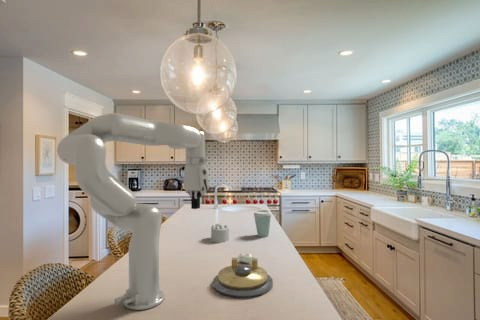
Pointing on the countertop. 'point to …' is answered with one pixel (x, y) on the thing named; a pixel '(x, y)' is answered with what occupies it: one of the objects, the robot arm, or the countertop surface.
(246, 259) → the pipe fitting
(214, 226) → the lumpy-topped squat cylinder
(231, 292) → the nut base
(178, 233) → the countertop surface
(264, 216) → the disposable coffee cup
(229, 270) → the lugged brass disc
